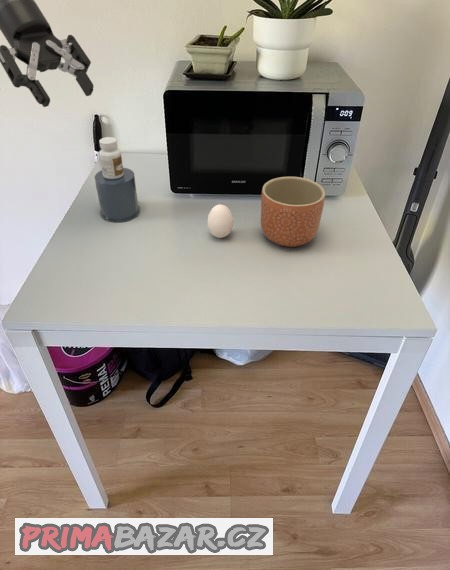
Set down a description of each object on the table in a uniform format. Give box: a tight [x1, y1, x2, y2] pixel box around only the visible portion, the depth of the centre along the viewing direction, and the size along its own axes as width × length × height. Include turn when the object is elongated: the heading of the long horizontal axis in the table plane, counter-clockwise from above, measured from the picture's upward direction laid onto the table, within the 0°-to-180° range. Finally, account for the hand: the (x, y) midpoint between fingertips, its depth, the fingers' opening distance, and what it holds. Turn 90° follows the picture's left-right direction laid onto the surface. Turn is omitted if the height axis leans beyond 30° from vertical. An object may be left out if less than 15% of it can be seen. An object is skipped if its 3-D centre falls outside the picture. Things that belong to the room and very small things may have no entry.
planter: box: [260, 176, 326, 248], centre depth 90 cm, size 12×12×11 cm
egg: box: [207, 204, 234, 239], centre depth 91 cm, size 5×5×7 cm
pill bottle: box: [98, 136, 124, 179], centre depth 92 cm, size 4×4×8 cm
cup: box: [94, 167, 141, 224], centre depth 98 cm, size 9×9×9 cm
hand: (69, 98), depth 76 cm, fingers open, 8 cm apart
